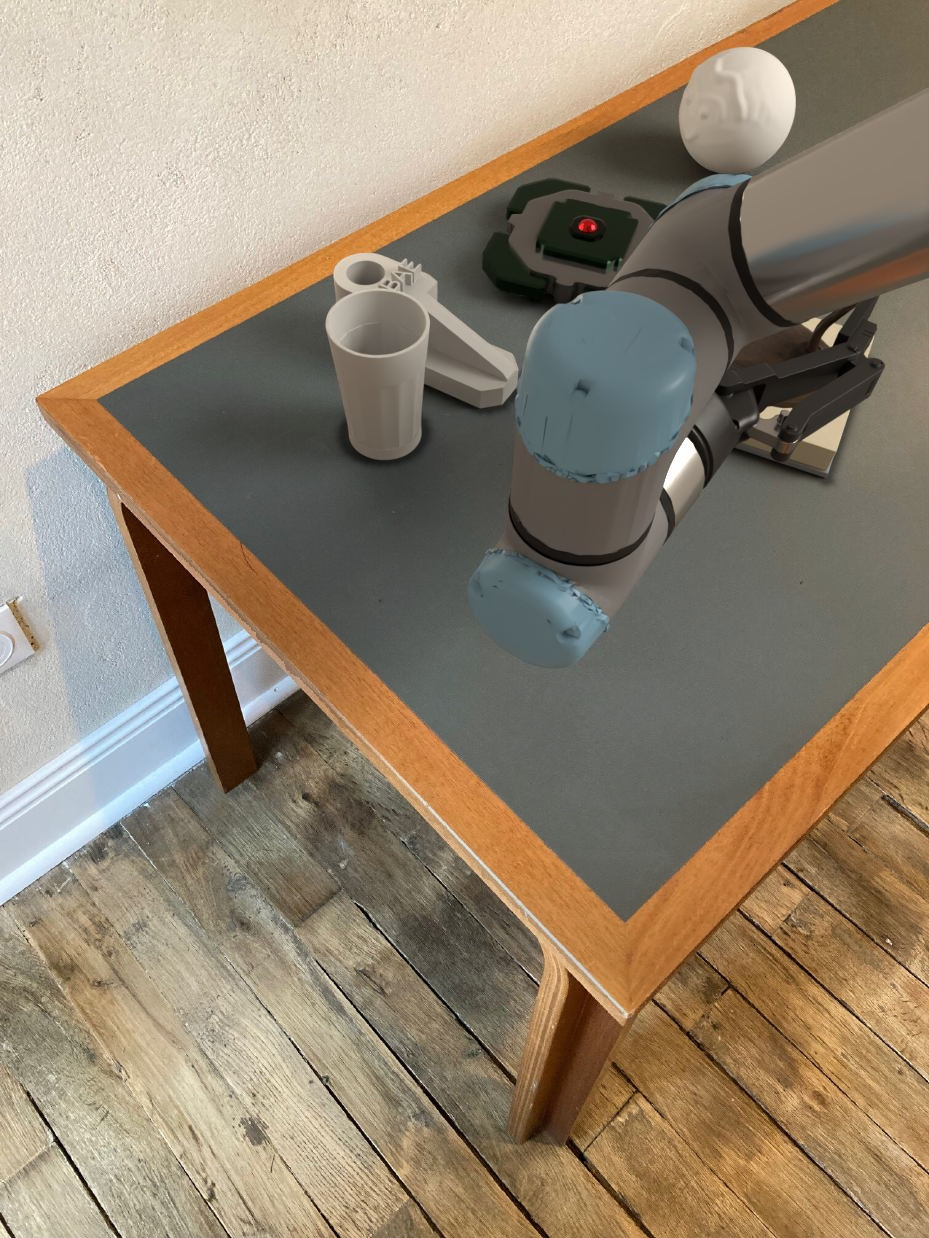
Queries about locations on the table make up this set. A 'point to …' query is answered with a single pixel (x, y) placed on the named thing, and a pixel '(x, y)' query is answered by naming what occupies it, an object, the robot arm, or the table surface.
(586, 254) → the clover-shaped pad
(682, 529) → the table surface
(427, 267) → the table surface
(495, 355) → the grey mounting bracket
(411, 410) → the cup
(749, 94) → the decorative ball
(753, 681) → the table surface
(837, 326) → the cream flat slab
